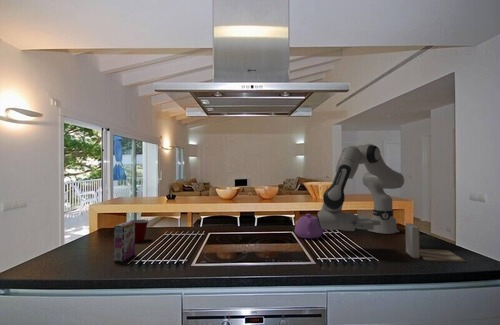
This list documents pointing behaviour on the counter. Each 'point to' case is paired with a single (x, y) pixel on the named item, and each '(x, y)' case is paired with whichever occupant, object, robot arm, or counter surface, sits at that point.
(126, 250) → the candy bar box
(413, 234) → the tile
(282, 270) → the counter surface
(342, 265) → the counter surface
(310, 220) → the teapot
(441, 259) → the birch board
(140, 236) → the plastic cup
